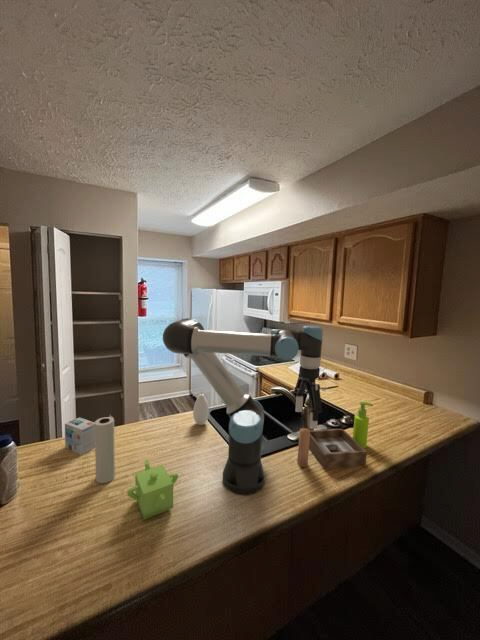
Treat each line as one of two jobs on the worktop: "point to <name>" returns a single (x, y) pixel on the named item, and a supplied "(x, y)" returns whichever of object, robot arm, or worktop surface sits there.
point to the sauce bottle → (201, 410)
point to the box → (340, 441)
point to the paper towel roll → (104, 449)
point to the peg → (303, 447)
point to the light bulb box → (80, 435)
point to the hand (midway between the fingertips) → (305, 419)
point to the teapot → (153, 490)
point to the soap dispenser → (361, 425)
